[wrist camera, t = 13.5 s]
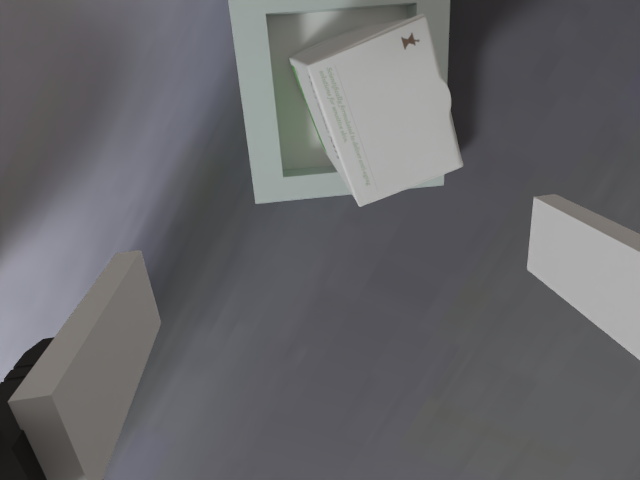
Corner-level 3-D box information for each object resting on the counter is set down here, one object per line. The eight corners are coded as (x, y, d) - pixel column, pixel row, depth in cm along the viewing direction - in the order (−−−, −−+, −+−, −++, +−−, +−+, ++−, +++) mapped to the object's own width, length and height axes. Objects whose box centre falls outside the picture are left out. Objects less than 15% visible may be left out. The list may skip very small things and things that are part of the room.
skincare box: (287, 56, 35) (297, 57, 21) (365, 23, 35) (429, 2, 21) (324, 154, 39) (354, 212, 24) (396, 125, 38) (469, 167, 24)
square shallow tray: (257, 191, 40) (255, 203, 37) (230, -10, 34) (226, -17, 31) (430, 174, 41) (443, 185, 38) (435, -24, 35) (451, -32, 32)
